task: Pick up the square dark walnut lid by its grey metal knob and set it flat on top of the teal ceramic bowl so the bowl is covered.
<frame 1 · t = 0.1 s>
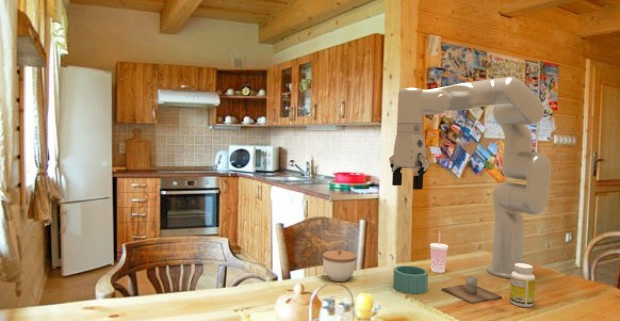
hand: (406, 187, 133), 31 cm above the table, tool pointing down, fingers open, 9 cm apart
bowl: (410, 288, 136), on the table
pill bottle: (521, 304, 126), on the table
lidded jar: (338, 278, 144), on the table
beverage cup: (437, 271, 156), on the table
lid: (471, 296, 133), on the table
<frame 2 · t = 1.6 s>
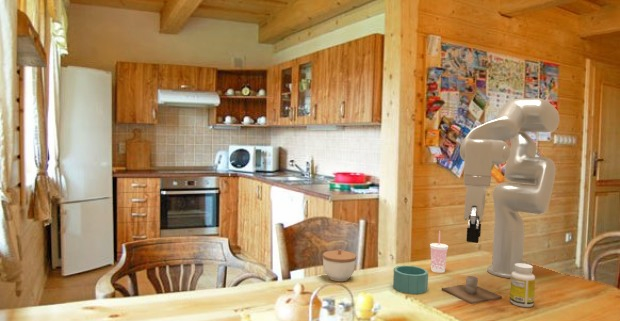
hand: (473, 239, 132), 17 cm above the table, tool pointing down, fingers open, 9 cm apart
nothing on the table moved.
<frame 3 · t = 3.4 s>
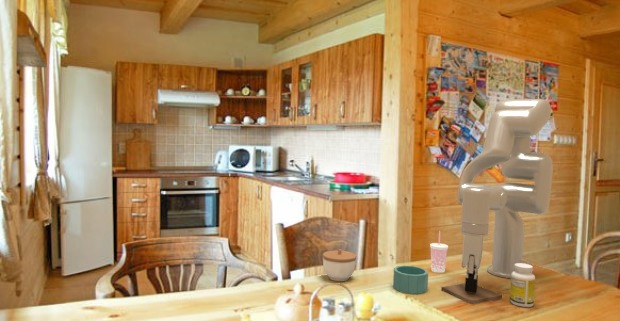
hand: (471, 289, 133), 2 cm above the table, tool pointing down, fingers closed on lid, 3 cm apart
lid: (470, 295, 133), on the table, touching gripper
everything else where it was.
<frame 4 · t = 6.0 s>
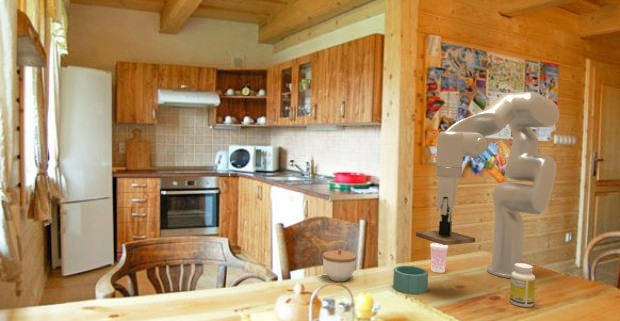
hand: (445, 233, 133), 18 cm above the table, tool pointing down, fingers closed on lid, 3 cm apart
lid: (444, 239, 133), point 16 cm above the table, touching gripper
everything else where it was.
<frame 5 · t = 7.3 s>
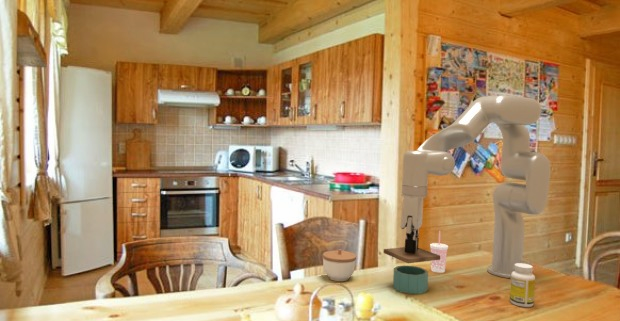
hand: (411, 250, 136), 12 cm above the table, tool pointing down, fingers closed on lid, 3 cm apart
lid: (411, 256, 136), point 10 cm above the table, touching gripper
everything else where it was.
when the fingers open (8 cm above the table, at t = 8.3 s): lid stays where it is, resting on bowl.
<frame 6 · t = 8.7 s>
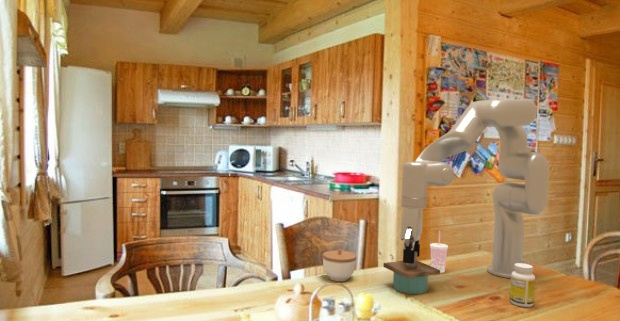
hand: (411, 259, 136), 9 cm above the table, tool pointing down, fingers open, 8 cm apart
lid: (411, 270, 136), point 5 cm above the table, touching bowl
everything else where it was.
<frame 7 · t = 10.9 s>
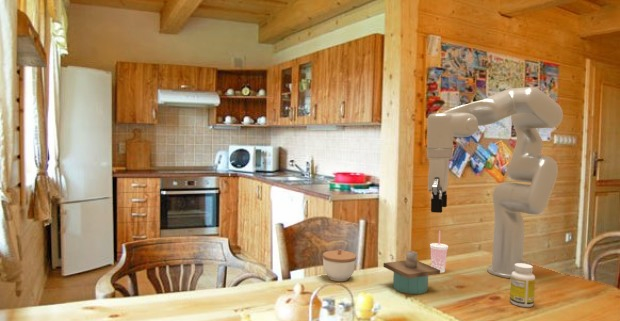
hand: (439, 209, 137), 24 cm above the table, tool pointing down, fingers open, 9 cm apart
nothing on the table moved.
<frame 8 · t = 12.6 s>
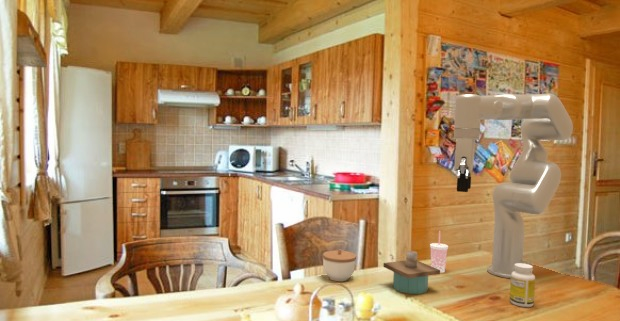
hand: (463, 190, 138), 30 cm above the table, tool pointing down, fingers open, 9 cm apart
nothing on the table moved.
at the end: lid 0.1 cm off-centre on the bowl, point 5.5 cm above the bowl's base; lid tilted 0°; the gripper is holding nothing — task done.
